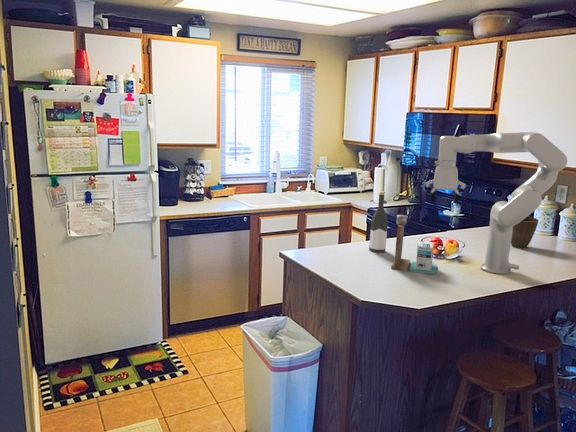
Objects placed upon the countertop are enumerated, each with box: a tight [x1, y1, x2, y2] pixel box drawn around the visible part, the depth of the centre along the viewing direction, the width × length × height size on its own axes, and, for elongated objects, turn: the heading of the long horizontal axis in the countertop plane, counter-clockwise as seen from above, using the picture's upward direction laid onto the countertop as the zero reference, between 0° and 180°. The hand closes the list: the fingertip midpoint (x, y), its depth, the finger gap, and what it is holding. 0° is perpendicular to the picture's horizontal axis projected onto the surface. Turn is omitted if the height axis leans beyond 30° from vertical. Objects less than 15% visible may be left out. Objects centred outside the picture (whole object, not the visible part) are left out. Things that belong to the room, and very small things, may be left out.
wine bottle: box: [368, 190, 389, 254], centre depth 246 cm, size 8×8×30 cm
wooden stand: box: [390, 214, 411, 272], centre depth 223 cm, size 7×13×23 cm, turn 161°
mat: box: [409, 261, 438, 276], centre depth 223 cm, size 11×13×1 cm
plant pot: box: [510, 215, 540, 250], centre depth 267 cm, size 15×15×16 cm
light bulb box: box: [415, 240, 434, 271], centre depth 221 cm, size 11×7×11 cm, turn 166°
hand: (444, 201), depth 224 cm, fingers open, 9 cm apart
